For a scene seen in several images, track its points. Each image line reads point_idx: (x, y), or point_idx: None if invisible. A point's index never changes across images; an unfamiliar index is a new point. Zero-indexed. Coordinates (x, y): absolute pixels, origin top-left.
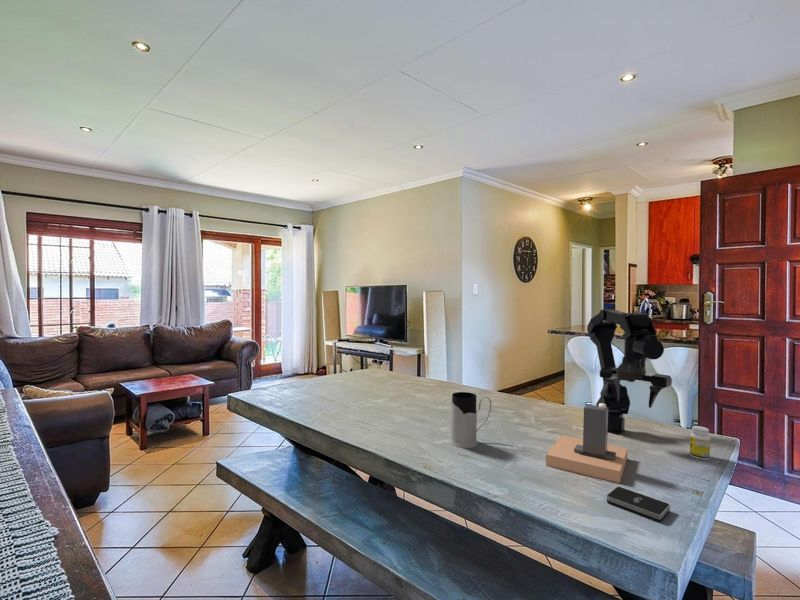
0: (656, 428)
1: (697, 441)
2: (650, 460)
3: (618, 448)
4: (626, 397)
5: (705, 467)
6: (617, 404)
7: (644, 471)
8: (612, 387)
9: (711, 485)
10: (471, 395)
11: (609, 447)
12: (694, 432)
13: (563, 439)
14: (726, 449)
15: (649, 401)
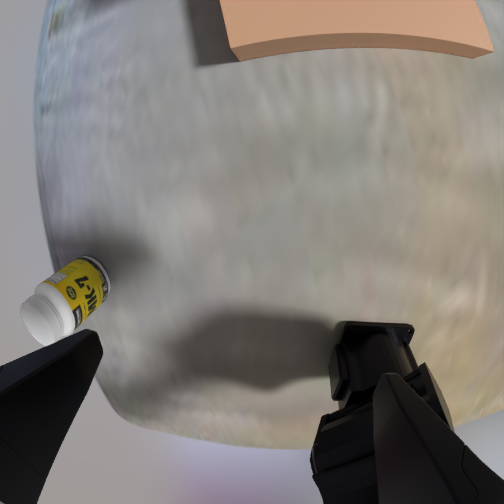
0: (253, 426)
1: (53, 279)
2: (168, 116)
3: (262, 18)
4: (326, 474)
5: (59, 200)
6: (370, 421)
7: (163, 9)
8: (483, 474)
9: (37, 87)
10: None
11: (298, 5)
12: (45, 301)
13: (466, 6)
14: None
15: (53, 357)
